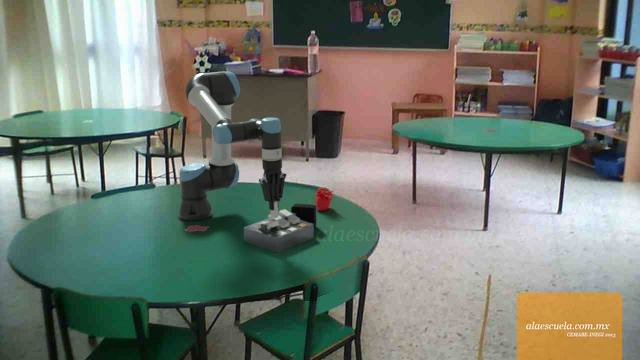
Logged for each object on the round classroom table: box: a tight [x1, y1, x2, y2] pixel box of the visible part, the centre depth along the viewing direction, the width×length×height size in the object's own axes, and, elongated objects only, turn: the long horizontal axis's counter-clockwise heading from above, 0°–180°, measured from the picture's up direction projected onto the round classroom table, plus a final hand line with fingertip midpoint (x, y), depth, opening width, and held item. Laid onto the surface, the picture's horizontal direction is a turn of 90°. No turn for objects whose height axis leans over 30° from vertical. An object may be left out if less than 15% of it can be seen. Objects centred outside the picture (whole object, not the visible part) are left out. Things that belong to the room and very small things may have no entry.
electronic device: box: [290, 203, 317, 230], centre depth 267 cm, size 4×10×10 cm, turn 78°
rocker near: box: [257, 221, 279, 228], centre depth 249 cm, size 9×3×2 cm, turn 48°
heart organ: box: [314, 186, 336, 212], centre depth 291 cm, size 10×12×12 cm
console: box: [243, 213, 315, 254], centre depth 255 cm, size 19×21×9 cm
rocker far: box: [278, 208, 300, 224], centre depth 258 cm, size 9×3×2 cm, turn 49°
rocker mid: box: [267, 214, 290, 228], centre depth 254 cm, size 9×3×2 cm, turn 49°
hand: (274, 217), depth 246 cm, fingers closed
